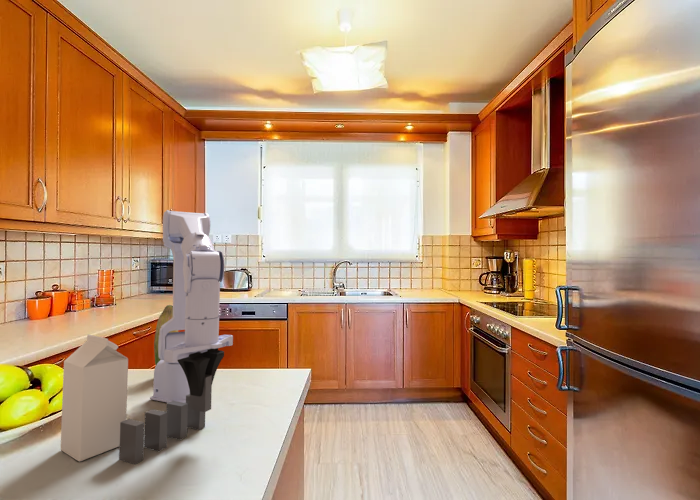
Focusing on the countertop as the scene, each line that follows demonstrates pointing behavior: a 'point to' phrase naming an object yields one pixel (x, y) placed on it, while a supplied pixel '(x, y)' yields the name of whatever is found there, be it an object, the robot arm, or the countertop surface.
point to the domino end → (131, 441)
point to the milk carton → (93, 398)
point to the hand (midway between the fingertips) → (200, 393)
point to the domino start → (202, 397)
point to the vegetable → (163, 318)
